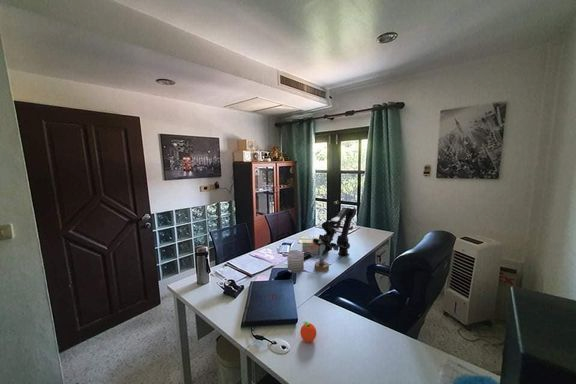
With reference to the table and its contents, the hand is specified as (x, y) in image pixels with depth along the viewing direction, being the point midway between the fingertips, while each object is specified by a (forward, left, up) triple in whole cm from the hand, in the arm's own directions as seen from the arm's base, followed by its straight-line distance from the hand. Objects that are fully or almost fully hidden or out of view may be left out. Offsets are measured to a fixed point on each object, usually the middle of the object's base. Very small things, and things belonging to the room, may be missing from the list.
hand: (320, 255), depth 159 cm
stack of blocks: (-15, -25, -11) cm, 31 cm away
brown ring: (-1, 0, -10) cm, 10 cm away
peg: (-1, 0, -7) cm, 7 cm away
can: (+15, -9, -10) cm, 20 cm away
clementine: (+45, +46, -10) cm, 65 cm away
